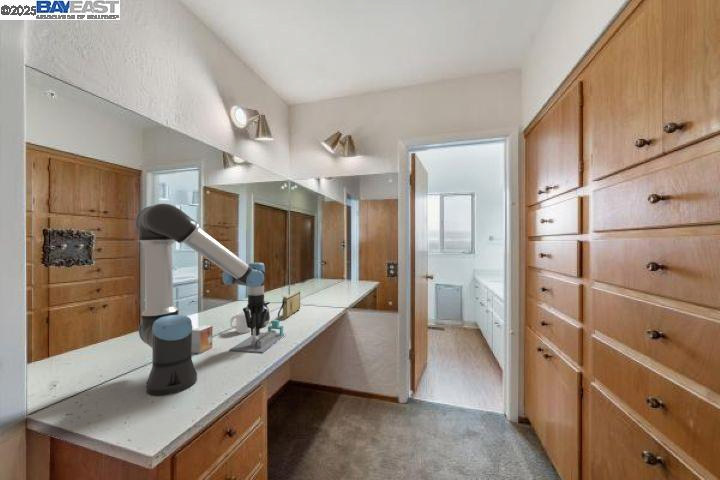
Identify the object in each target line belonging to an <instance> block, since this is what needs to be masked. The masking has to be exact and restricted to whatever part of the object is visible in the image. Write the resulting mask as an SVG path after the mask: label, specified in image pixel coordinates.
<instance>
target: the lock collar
mask: <svg viewBox="0 0 720 480" xmlns="http://www.w3.org/2000/svg"><path fill="white" fill-rule="evenodd" d="M272 330H279V333H280V335H282V334H284V326H283V325H280V320H279V319H273V320H271V325H269V326H268V327H267V331H268V332H271V331H272Z"/></svg>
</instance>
